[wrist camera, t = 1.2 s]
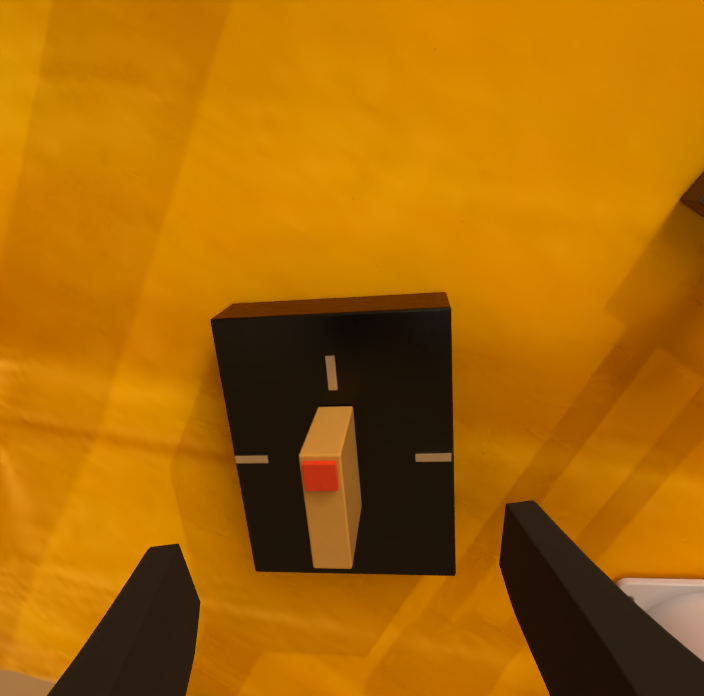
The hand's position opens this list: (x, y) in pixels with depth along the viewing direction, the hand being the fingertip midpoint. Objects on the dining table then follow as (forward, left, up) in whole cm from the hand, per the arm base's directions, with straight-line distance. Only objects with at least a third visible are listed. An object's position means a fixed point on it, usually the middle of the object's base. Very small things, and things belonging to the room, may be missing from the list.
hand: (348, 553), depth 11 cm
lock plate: (-3, +2, -11) cm, 11 cm away
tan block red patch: (-3, +2, -8) cm, 9 cm away
